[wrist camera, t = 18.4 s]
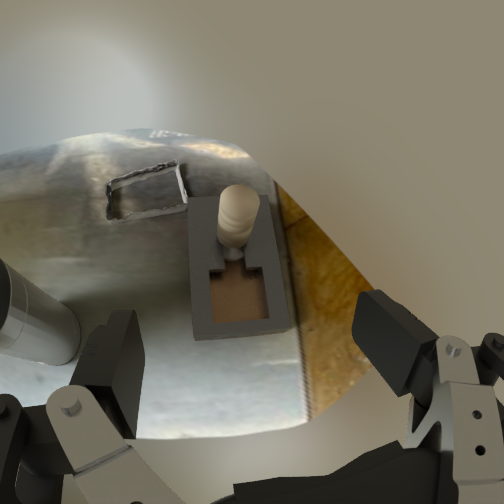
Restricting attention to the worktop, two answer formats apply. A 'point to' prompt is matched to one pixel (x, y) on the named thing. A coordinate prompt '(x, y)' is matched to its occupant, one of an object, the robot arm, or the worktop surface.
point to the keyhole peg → (236, 219)
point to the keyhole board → (234, 277)
